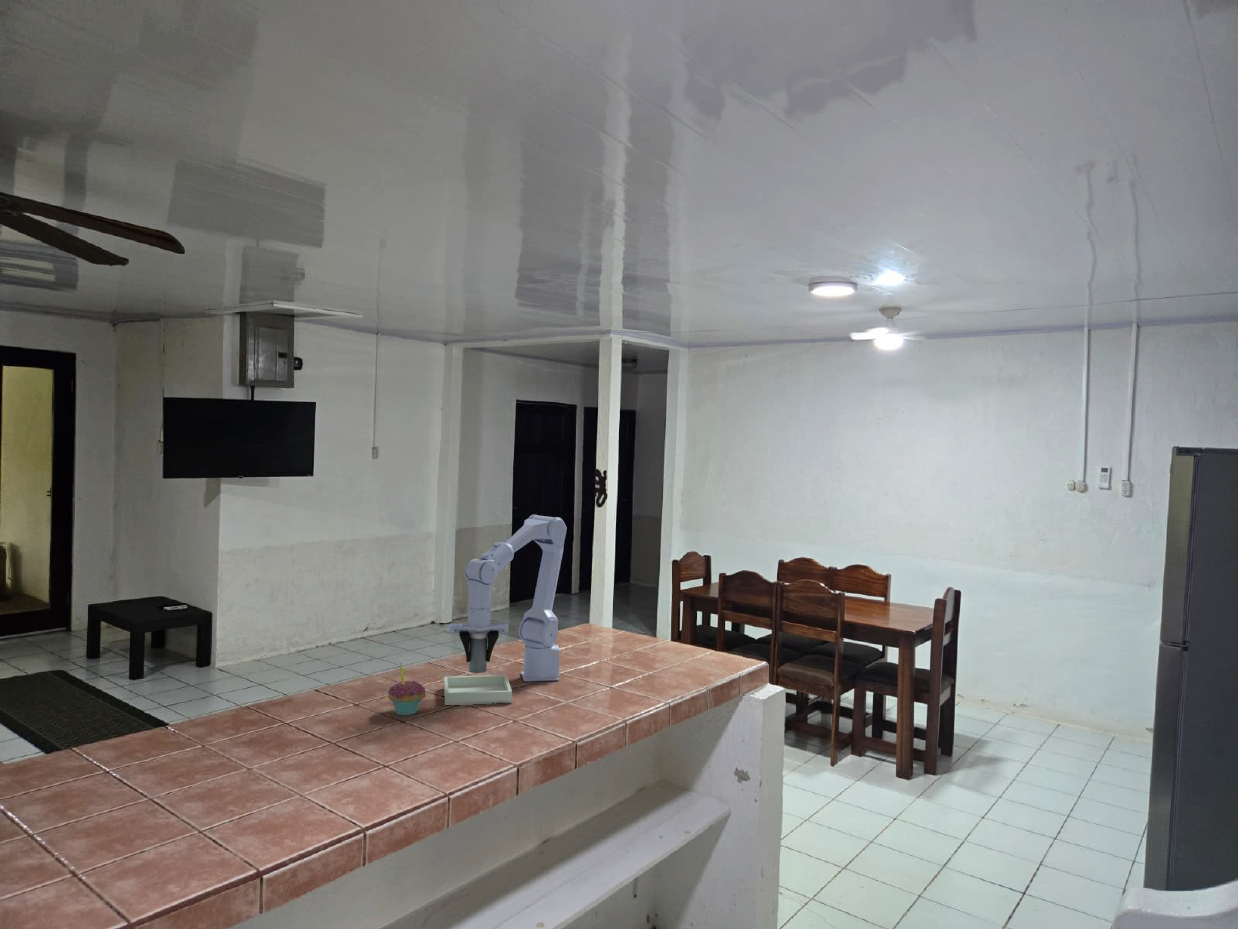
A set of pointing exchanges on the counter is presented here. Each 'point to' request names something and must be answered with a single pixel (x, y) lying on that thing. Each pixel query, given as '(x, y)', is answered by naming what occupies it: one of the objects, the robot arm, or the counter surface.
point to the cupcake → (406, 695)
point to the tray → (477, 690)
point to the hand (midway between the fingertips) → (478, 661)
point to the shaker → (478, 652)
